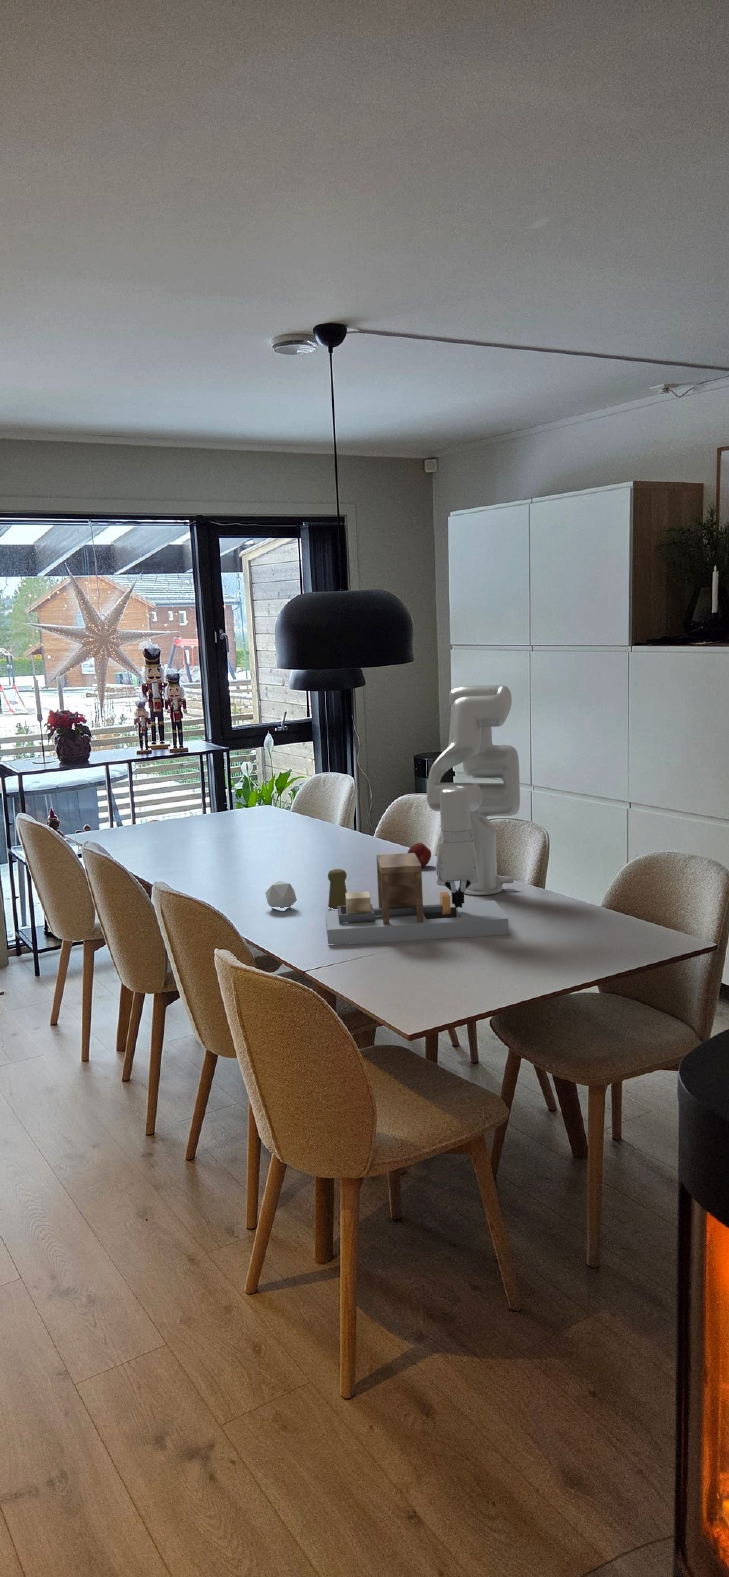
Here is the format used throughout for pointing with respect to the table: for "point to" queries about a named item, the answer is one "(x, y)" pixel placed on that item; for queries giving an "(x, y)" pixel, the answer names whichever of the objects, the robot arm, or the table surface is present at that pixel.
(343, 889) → the tan pawn
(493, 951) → the table surface
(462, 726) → the robot arm
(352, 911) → the block
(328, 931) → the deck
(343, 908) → the sled
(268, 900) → the die
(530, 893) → the table surface
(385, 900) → the tunnel
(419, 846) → the apple
